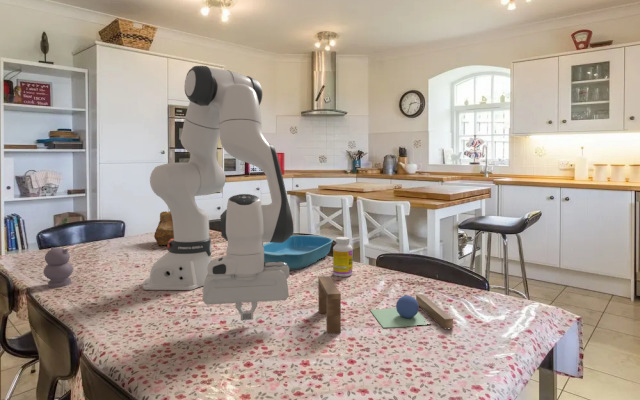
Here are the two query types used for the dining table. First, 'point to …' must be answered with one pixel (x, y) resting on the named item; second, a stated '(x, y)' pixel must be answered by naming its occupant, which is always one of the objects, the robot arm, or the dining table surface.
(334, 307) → the bridge
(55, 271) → the cat figurine
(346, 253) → the supplement bottle
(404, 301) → the ball
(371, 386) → the dining table surface
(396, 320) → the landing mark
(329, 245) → the casserole dish
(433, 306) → the stopper wall
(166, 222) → the rough brown rock
